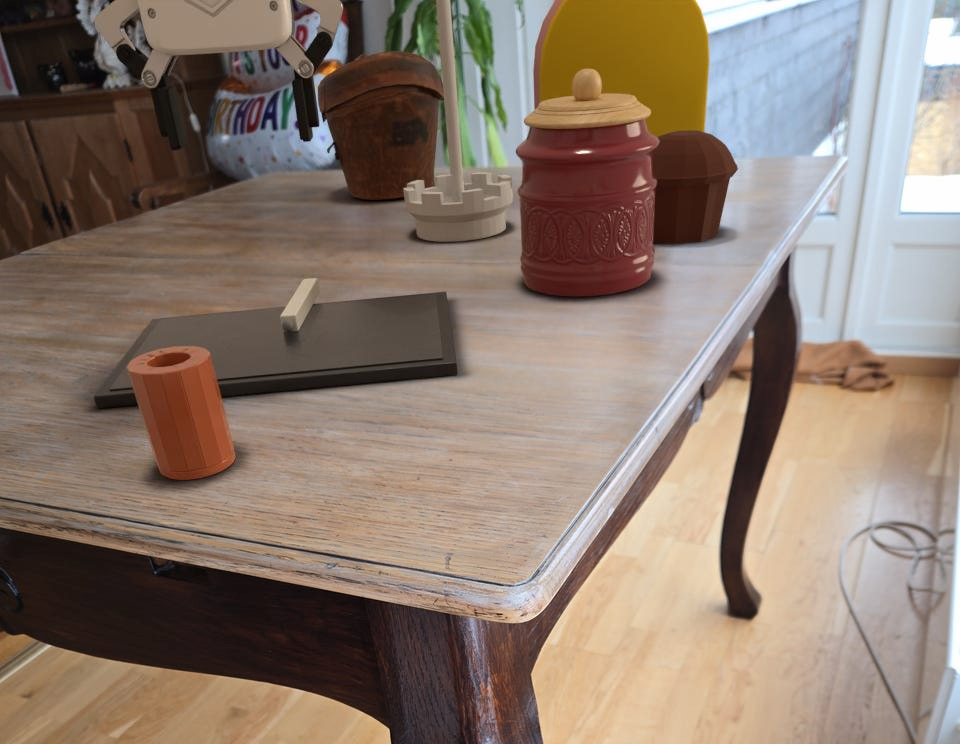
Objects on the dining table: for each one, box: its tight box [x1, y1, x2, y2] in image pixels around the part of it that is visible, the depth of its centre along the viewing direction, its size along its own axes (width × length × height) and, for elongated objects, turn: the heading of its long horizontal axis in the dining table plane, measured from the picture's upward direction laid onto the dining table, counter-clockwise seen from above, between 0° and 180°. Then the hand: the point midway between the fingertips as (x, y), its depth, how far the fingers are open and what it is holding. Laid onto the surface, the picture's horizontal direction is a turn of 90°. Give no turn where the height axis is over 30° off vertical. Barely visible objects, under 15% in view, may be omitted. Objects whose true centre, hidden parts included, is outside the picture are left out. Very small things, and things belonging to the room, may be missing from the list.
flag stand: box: [403, 0, 514, 243], centre depth 101 cm, size 13×13×30 cm
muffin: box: [653, 130, 739, 245], centre depth 97 cm, size 12×11×10 cm
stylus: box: [280, 277, 321, 332], centre depth 81 cm, size 1×1×13 cm
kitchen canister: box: [515, 69, 659, 297], centre depth 83 cm, size 13×13×18 cm
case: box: [317, 50, 444, 201], centre depth 128 cm, size 18×20×18 cm
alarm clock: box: [532, 0, 710, 137], centre depth 113 cm, size 21×9×26 cm, turn 93°
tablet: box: [93, 291, 458, 410], centre depth 77 cm, size 28×20×1 cm
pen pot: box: [127, 346, 236, 481], centre depth 57 cm, size 5×5×7 cm
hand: (243, 143), depth 68 cm, fingers open, 9 cm apart
